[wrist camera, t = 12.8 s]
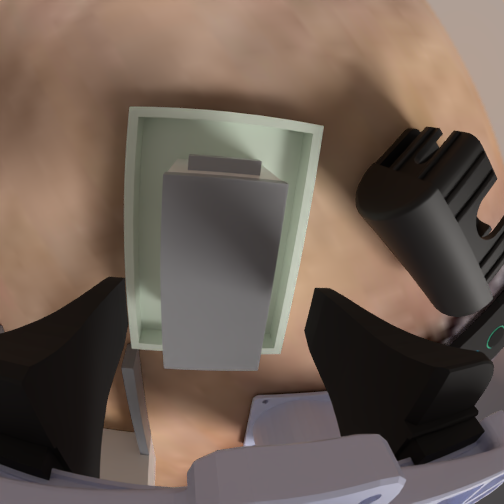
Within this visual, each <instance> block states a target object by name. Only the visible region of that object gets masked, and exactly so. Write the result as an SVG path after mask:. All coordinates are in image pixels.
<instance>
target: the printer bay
mask: <svg viewBox="0 0 504 504" xmlns="http://www.w3.org/2000/svg"><path fill="white" fill-rule="evenodd" d="M1 333H4V330H3V327H2V325H0V334H1ZM121 368H122V374H123V380H124V385H125V390H126V395H127V400H128V405H129V410H130V414H131V419H132V423H133V427H134V431H135V432H127V431H119V430H111V429H104V428H103V435H102V444H101V459H100V479H105V480H111V481H117V482H124V483H132V484H140V485H150V486H155V466H156V457H155V452H154V447H153V442H152V437H151V431H150V426H149V420H148V414H147V408H146V401H145V394H144V387H143V380H142V372H141V363H140V355H139V349H132V347H131V344H127V348H126V351H125V355H124V359H123V363H122V367H121Z"/></svg>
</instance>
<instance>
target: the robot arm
mask: <svg viewBox="0 0 504 504" xmlns="http://www.w3.org/2000/svg"><path fill="white" fill-rule="evenodd" d="M127 327H128V317H127V306H126V292H125V278H118V277H108V278H106V279H105V280H103V281H102V282H100V283H99V284H97V285H96V286H94V287H93V288H92V289H90V290H89V291H87V292H86V293H84V294H83V295H81V296H80V297H79V298H77V299H75V300H74V301H72V302H71V303H69V304H67V305H66V306H64V307H63V308H61V309H59V310H58V311H56V312H54V313H52V314H50V315H48V316H46V317H44V318H42V319H40V320H38V321H35V322H33V323H30V324H28V325H25V326H23V327H20V328H18V329H15V330H11V331H8V332H5V333H1V334H0V504H474V503H476V502H477V501H479V500H480V499H482V498H483V497H485V496H487V495H488V494H490V493H491V492H492V491H494V490H495V489H496V488H497V487H499V486H500V485H501V484H502V483H503V482H504V411H503V410H499V411H497V412H495V413H493V414H491V415H489V416H487V417H485V418H484V419H482V420H481V421H480V422H478V421H477V419H476V418H475V416H477V415H478V410H477V409H476V407H475V406H474V405H475V404H476V403H477V401H478V400H479V398H480V397H481V395H482V394H483V392H484V391H485V389H486V387H487V386H488V384H489V382H490V381H491V378H492V375H493V371H494V370H493V369H494V365H493V362H492V361H491V360H490V359H489V358H488V357H487V356H486V355H485V354H484V353H482V352H480V351H474V350H467V349H461V348H456V347H451V346H447V345H443V344H440V343H436V342H433V341H430V340H427V339H424V338H421V337H418V336H416V335H413V334H411V333H408V332H406V331H404V330H402V329H400V328H397V327H395V326H393V325H391V324H389V323H387V322H386V321H384V320H382V319H380V318H378V317H377V316H375V315H373V314H372V313H370V312H368V311H367V310H365V309H363V308H362V307H360V306H359V305H357V304H355V303H354V302H352V301H351V300H349V299H348V298H346V297H344V296H343V295H341V294H339V293H338V292H336V291H334V290H332V289H330V288H315V290H314V294H313V298H312V302H311V306H310V310H309V314H308V318H307V322H306V326H305V330H304V331H305V335H306V339H307V343H308V347H309V350H310V353H311V356H312V358H313V360H314V363H315V365H316V367H317V369H318V372H319V374H320V376H321V378H322V381H323V383H324V385H325V387H326V390H327V391H321V392H309V393H294V394H275V395H257V396H255V397H254V398H253V400H252V404H251V409H250V414H249V419H248V424H247V429H246V434H245V438H244V443H243V445H244V446H243V447H236V448H230V449H223V450H217V451H215V452H212V453H210V454H208V455H206V456H203V457H201V458H199V459H197V460H196V461H194V462H193V464H192V466H191V467H190V469H189V471H188V472H187V485H188V486H184V487H161V486H150V485H140V484H132V483H124V482H117V481H111V480H105V479H100V459H101V444H102V435H103V426H104V418H105V412H106V405H107V399H108V395H109V391H110V388H111V385H112V381H113V378H114V375H115V372H116V369H117V366H118V363H119V360H120V356H121V353H122V350H123V347H124V343H125V338H126V333H127Z"/></svg>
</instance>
